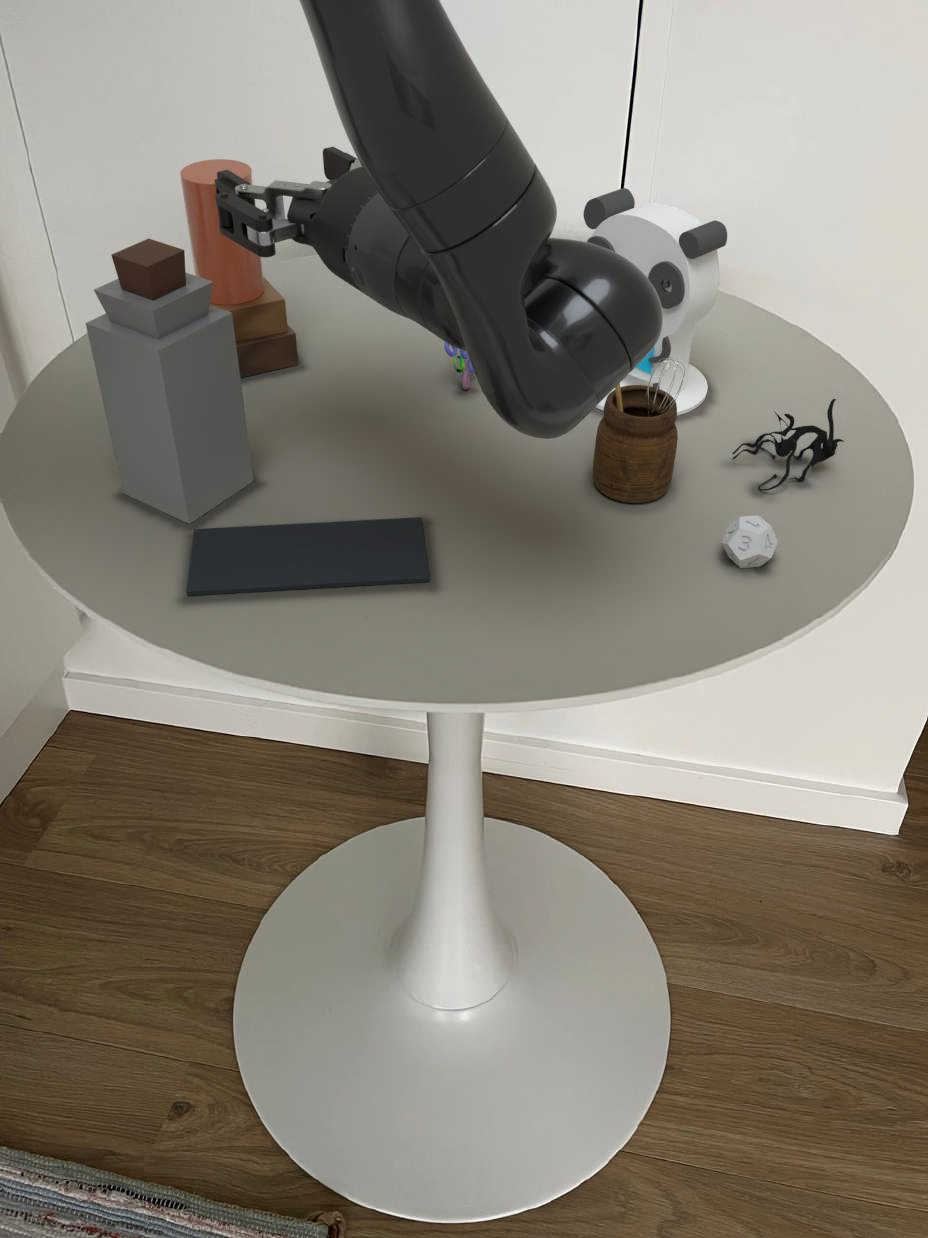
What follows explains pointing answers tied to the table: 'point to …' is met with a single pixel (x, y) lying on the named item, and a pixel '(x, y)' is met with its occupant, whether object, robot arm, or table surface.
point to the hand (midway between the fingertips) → (275, 172)
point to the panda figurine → (664, 281)
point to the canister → (218, 236)
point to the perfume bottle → (170, 384)
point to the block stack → (263, 333)
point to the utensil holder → (636, 442)
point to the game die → (749, 541)
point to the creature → (791, 445)
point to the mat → (307, 556)
